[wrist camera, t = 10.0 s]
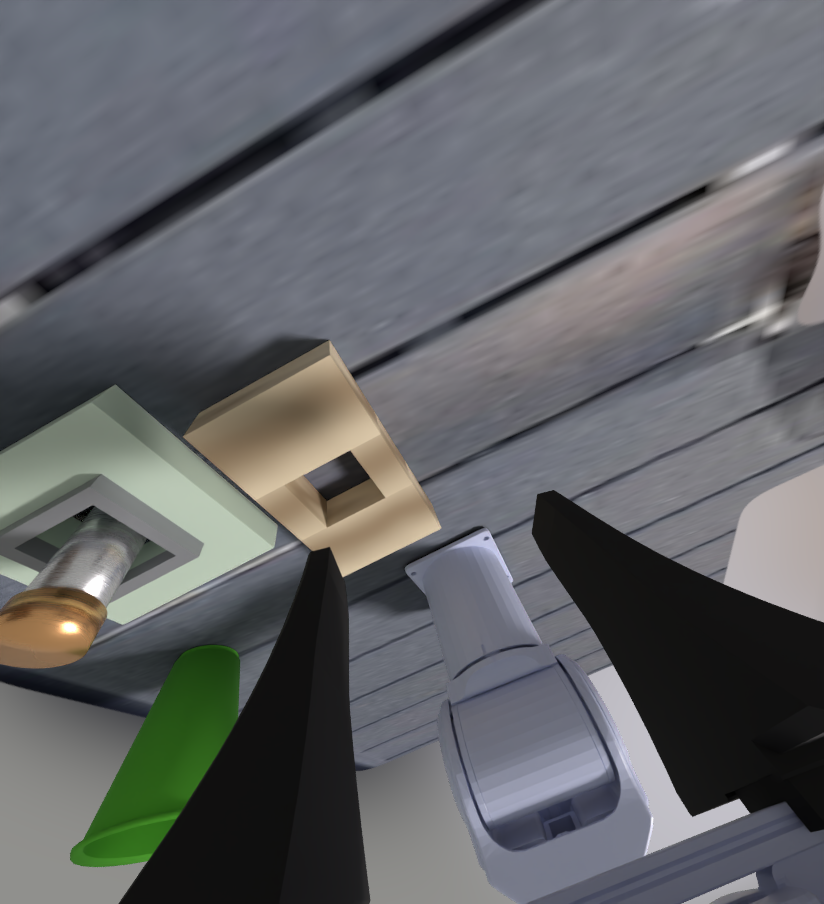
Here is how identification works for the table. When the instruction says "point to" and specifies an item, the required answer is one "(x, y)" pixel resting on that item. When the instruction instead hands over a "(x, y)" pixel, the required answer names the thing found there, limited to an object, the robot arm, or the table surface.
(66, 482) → the socket
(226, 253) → the table surface
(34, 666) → the pin
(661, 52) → the table surface
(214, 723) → the cup
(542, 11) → the table surface
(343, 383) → the mount
